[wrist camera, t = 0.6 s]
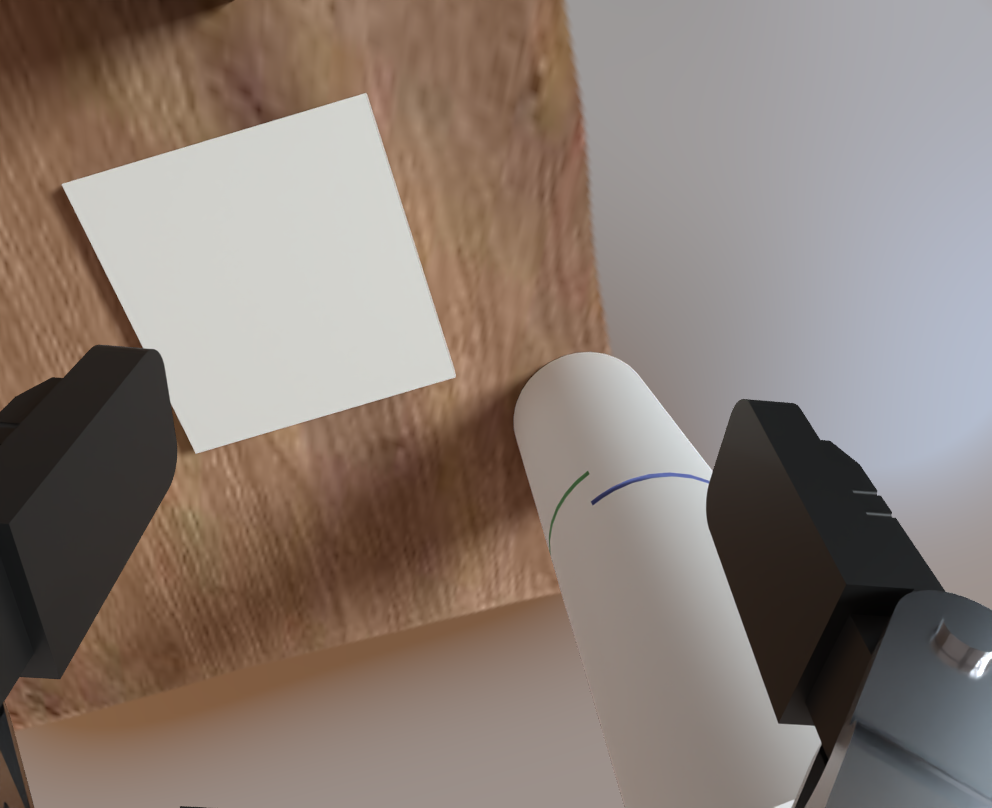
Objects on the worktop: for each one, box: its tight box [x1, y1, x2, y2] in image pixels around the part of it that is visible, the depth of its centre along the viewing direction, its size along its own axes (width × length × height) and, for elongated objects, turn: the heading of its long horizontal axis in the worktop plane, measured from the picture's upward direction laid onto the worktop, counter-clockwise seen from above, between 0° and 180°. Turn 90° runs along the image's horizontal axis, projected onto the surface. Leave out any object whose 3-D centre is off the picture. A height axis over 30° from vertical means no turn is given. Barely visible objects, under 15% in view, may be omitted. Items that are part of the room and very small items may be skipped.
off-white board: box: [62, 93, 456, 453], centre depth 34 cm, size 13×13×1 cm
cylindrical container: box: [514, 352, 821, 808], centre depth 27 cm, size 7×7×25 cm
